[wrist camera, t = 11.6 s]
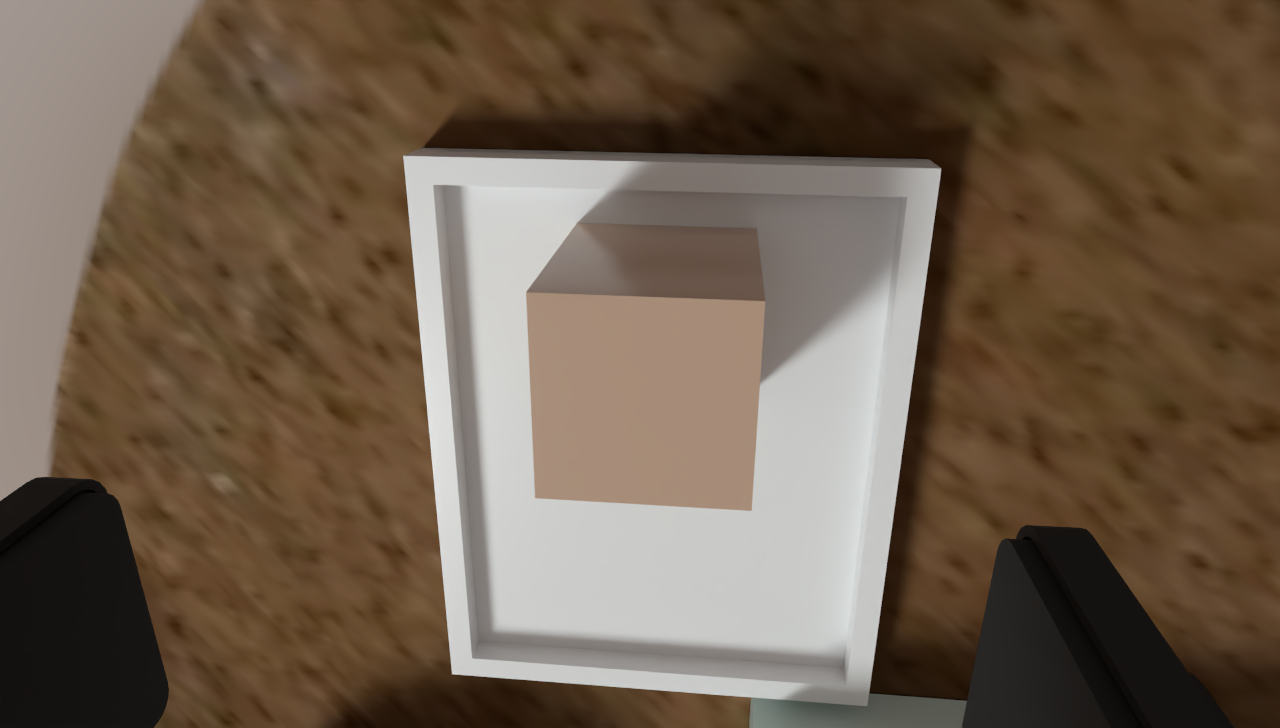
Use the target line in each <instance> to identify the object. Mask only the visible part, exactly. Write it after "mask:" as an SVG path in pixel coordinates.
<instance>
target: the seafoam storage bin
mask: <svg viewBox="0 0 1280 728" xmlns="http://www.w3.org/2000/svg"><path fill="white" fill-rule="evenodd" d="M966 703H967V701H963V700H950V699H937V698H924V697H910V696H897V695H884V694H871V693H869V698H868V705H867V706H857V705H844V704H831V703H818V702H805V701H792V700H779V699H766V698H753V697H751V708H750V722H749V728H962V723H963V718H964V713H965V708H966Z"/></svg>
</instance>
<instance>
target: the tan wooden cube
mask: <svg viewBox="0 0 1280 728" xmlns="http://www.w3.org/2000/svg"><path fill="white" fill-rule="evenodd" d="M526 303H527V325H528V348H529V371H530V394H531V417H532V439H533V462H534V485H535V498H540V499H557V500H574V501H591V502H608V503H625V504H642V505H659V506H676V507H693V508H711V509H728V510H745V511H752V498H753V482H754V467H755V452H756V437H757V421H758V406H759V391H760V376H761V360H762V345H763V330H764V315H765V294H764V285H763V277H762V268H761V259H760V251H759V242H758V234H757V228H730V227H696V226H663V225H630V224H597V223H576V225H575V226H574V228H573V229H572V230H571V232H570V233H569V234H568V236H567V237H566V238H565V240H564V241H563V243H562V244H561V245H560V247H559V248H558V249H557V251H556V252H555V253H554V255H553V256H552V258H551V259H550V260H549V262H548V263H547V264H546V266H545V267H544V268H543V270H542V271H541V273H540V274H539V275H538V277H537V278H536V279H535V281H534V282H533V283H532V285H531V286H530V288H529V289H528V290H527V292H526Z"/></svg>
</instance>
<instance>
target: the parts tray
mask: <svg viewBox="0 0 1280 728" xmlns="http://www.w3.org/2000/svg"><path fill="white" fill-rule="evenodd" d="M403 157H404V168H405V178H406V189H407V199H408V210H409V221H410V231H411V242H412V253H413V263H414V274H415V285H416V295H417V306H418V317H419V327H420V338H421V348H422V359H423V370H424V380H425V391H426V402H427V412H428V423H429V434H430V444H431V455H432V466H433V476H434V487H435V497H436V508H437V519H438V529H439V540H440V551H441V561H442V572H443V583H444V593H445V604H446V615H447V625H448V636H449V646H450V657H451V668H452V674H456V675H468V676H481V677H494V678H507V679H520V680H533V681H546V682H559V683H572V684H585V685H598V686H611V687H624V688H637V689H650V690H663V691H676V692H689V693H702V694H714V695H727V696H740V697H753V698H766V699H779V700H792V701H805V702H818V703H831V704H844V705H857V706H867V705H868V698H869V691H870V683H871V676H872V669H873V662H874V654H875V647H876V640H877V633H878V625H879V618H880V611H881V604H882V596H883V589H884V582H885V575H886V567H887V560H888V553H889V546H890V538H891V531H892V524H893V517H894V509H895V502H896V495H897V488H898V480H899V473H900V466H901V459H902V451H903V444H904V437H905V430H906V422H907V415H908V408H909V401H910V393H911V386H912V379H913V372H914V364H915V357H916V350H917V342H918V335H919V328H920V321H921V313H922V306H923V299H924V292H925V284H926V277H927V270H928V263H929V255H930V248H931V241H932V234H933V226H934V219H935V212H936V205H937V197H938V190H939V183H940V176H941V168H940V167H939V166H937V165H936V164H935V163H933V162H932V161H931V160H929V159H894V158H850V157H806V156H762V155H718V154H675V153H631V152H587V151H543V150H499V149H455V148H420V149H418V150H416V151H413V152H411V153H409V154H407V155H404V156H403ZM576 223H597V224H630V225H663V226H696V227H730V228H757V234H758V242H759V251H760V259H761V268H762V277H763V285H764V294H765V315H764V330H763V345H762V360H761V376H760V391H759V406H758V421H757V437H756V452H755V467H754V482H753V498H752V511H745V510H728V509H711V508H693V507H676V506H659V505H642V504H625V503H608V502H591V501H574V500H557V499H540V498H535V485H534V462H533V439H532V417H531V394H530V371H529V348H528V325H527V303H526V292H527V290H528V289H529V288H530V286H531V285H532V283H533V282H534V281H535V279H536V278H537V277H538V275H539V274H540V273H541V271H542V270H543V268H544V267H545V266H546V264H547V263H548V262H549V260H550V259H551V258H552V256H553V255H554V253H555V252H556V251H557V249H558V248H559V247H560V245H561V244H562V243H563V241H564V240H565V238H566V237H567V236H568V234H569V233H570V232H571V230H572V229H573V228H574V226H575V225H576Z"/></svg>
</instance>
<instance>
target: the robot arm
mask: <svg viewBox="0 0 1280 728" xmlns="http://www.w3.org/2000/svg"><path fill="white" fill-rule="evenodd" d="M168 692H169V688H168V681H167V678H166V674H165V670H164V666H163V663H162V659H161V655H160V651H159V648H158V644H157V640H156V637H155V633H154V629H153V625H152V622H151V618H150V614H149V611H148V607H147V603H146V599H145V596H144V592H143V588H142V585H141V581H140V577H139V573H138V570H137V566H136V562H135V558H134V555H133V551H132V547H131V544H130V540H129V536H128V532H127V529H126V525H125V521H124V518H123V514H122V510H121V507H120V504H119V502H118V500H117V499H116V498H115V497H114V496H113V495H110V494H108V493H107V491H106V489H105V488H104V487H103V486H102V484H101V483H100V482H97V481H95V480H92V479H74V478H54V477H41V478H35V479H33V480H31V481H29V482H27V483H25V484H24V485H23V486H22V487H20V488H18V489H17V490H16V491H14V492H13V493H11V494H10V495H8V496H7V497H6V498H4V499H3V500H2V501H0V728H154V727H155V725H156V724H157V723H158V721H159V720H160V718H161V716H162V715H163V712H164V710H165V707H166V704H167V700H168ZM962 728H1234V727H1233V726H1232V724H1231V723H1230V721H1229V720H1228V719H1227V717H1226V716H1225V714H1224V713H1223V711H1222V710H1221V709H1220V707H1219V706H1218V704H1217V703H1216V702H1215V700H1214V699H1213V697H1212V696H1211V694H1210V693H1209V692H1208V690H1207V689H1206V688H1205V687H1204V685H1203V684H1202V683H1201V682H1200V681H1199V680H1198V679H1197V678H1196V677H1195V676H1194V675H1193V674H1191V673H1189V672H1187V670H1186V669H1185V668H1184V666H1183V665H1182V663H1181V662H1180V660H1179V659H1178V657H1177V656H1176V655H1175V653H1174V652H1173V650H1172V649H1171V647H1170V646H1169V645H1168V643H1167V642H1166V640H1165V639H1164V637H1163V636H1162V635H1161V633H1160V632H1159V630H1158V629H1157V627H1156V626H1155V625H1154V623H1153V622H1152V620H1151V619H1150V617H1149V616H1148V614H1147V613H1146V612H1145V610H1144V609H1143V607H1142V606H1141V604H1140V603H1139V602H1138V600H1137V599H1136V597H1135V596H1134V594H1133V593H1132V592H1131V590H1130V589H1129V587H1128V586H1127V584H1126V583H1125V581H1124V580H1123V579H1122V577H1121V576H1120V574H1119V573H1118V571H1117V570H1116V569H1115V567H1114V566H1113V564H1112V563H1111V561H1110V560H1109V559H1108V557H1107V556H1106V554H1105V553H1104V551H1103V550H1102V548H1101V547H1100V546H1099V544H1098V543H1097V541H1096V540H1095V538H1094V537H1093V536H1092V535H1091V534H1090V532H1089V531H1088V530H1086V529H1083V528H1071V527H1051V526H1031V525H1026V526H1024V527H1022V528H1021V529H1020V531H1019V533H1018V534H1017V537H1016V539H1004V540H1002V541H1001V543H1000V545H999V547H998V551H997V555H996V560H995V565H994V570H993V575H992V580H991V584H990V589H989V594H988V599H987V604H986V609H985V614H984V619H983V624H982V629H981V634H980V639H979V644H978V649H977V654H976V659H975V664H974V669H973V674H972V679H971V683H970V688H969V693H968V698H967V703H966V708H965V713H964V718H963V723H962Z"/></svg>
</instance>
